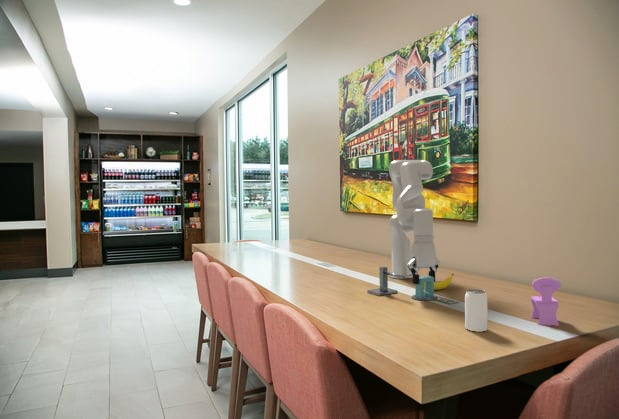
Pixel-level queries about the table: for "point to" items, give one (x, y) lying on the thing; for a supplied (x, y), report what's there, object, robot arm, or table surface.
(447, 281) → the banana
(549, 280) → the toy chair
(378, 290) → the stand
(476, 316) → the can
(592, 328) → the table surface
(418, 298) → the coaster
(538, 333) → the table surface
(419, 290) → the link
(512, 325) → the table surface
